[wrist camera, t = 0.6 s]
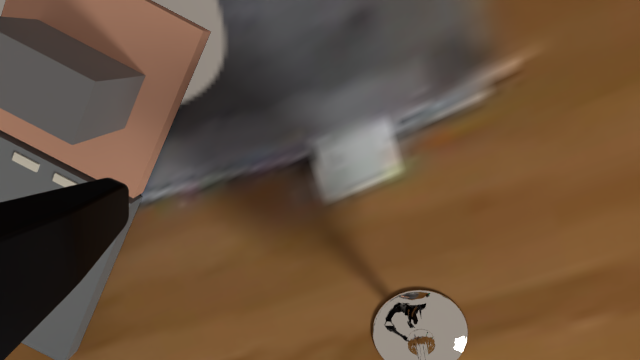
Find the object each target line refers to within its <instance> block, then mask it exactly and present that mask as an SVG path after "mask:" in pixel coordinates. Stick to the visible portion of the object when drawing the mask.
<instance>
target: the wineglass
mask: <svg viewBox="0 0 640 360" xmlns="http://www.w3.org/2000/svg"><path fill="white" fill-rule="evenodd" d="M372 335H373V341H374V344H375V347H376V349H377V351H378V352H379V354H380V355H381V357H382V358H383V359H384V360H458V358H459V357H460V356H461V354H462V353H463V351H464V349H465V347H466V344H467V339H468V326H467V322H466V319H465V316H464V314H463V313H462V311H461V309H460V308H459V307H458V306H457V304H455V303H454V302H453V301H452V300H451V299H449V298H448V297H446V296H444V295H443V294H440V293H437V292H434V291H431V290H421V289H417V290H409V291H405V292H402V293H399V294H397V295H395V296H393V297H392V298H390V299H389V300H387V301H386V302H385V303H384V304H383V305H382V306H381V307H380V309H379V311H378V312H377V314H376V316H375V319H374V322H373V328H372Z"/></svg>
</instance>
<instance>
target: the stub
mask: <svg viewBox="0 0 640 360" xmlns="http://www.w3.org/2000/svg"><path fill="white" fill-rule="evenodd" d="M210 33H211V32H210V31H209V30H207V29H205V28H203V27H201V26H199V25H197V24H195V23H193V22H192V21H190V20H188V19H186V18H184V17H182V16H180V15H178V14H176V13H174V12H172V11H171V10H168V9H167V8H165V7H163V6H161V5H159V4H157V3H155V2H153V1H151V0H6V2H5V5H4V8H3V11H2V15H1V16H0V130H1V131H3V132H5V133H7V134H9V135H11V136H13V137H15V138H17V139H19V140H21V141H23V142H25V143H27V144H29V145H30V146H32V147H34V148H36V149H38V150H40V151H42V152H44V153H46V154H48V155H50V156H52V157H54V158H56V159H58V160H60V161H62V162H64V163H65V164H67V165H69V166H71V167H73V168H75V169H77V170H79V171H81V172H83V173H85V174H87V175H89V176H91V177H93V178H95V179H97V180H98V179H102V178H113V179H115V180H117V181H119V182H122V183H124V184H125V185H127V187H128V189H129V196H130V197H132V198H135V197H136V196H138V195H139V194H141V193H143V191H144V189H145V186H146V184H147V182H148V179H149V177H150V175H151V172H152V170H153V168H154V165H155V163H156V160H157V158H158V156H159V153H160V151H161V149H162V146H163V144H164V142H165V139H166V137H167V134H168V132H169V130H170V127H171V125H172V123H173V120H174V118H175V116H176V113H177V111H178V108H179V106H180V104H181V101H182V99H183V97H184V94H185V92H186V90H187V87H188V85H189V82H190V80H191V78H192V75H193V73H194V70H195V68H196V66H197V64H198V61H199V59H200V56H201V54H202V52H203V49H204V47H205V44H206V42H207V40H208V37H209V35H210Z"/></svg>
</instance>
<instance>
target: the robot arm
mask: <svg viewBox="0 0 640 360" xmlns="http://www.w3.org/2000/svg"><path fill="white" fill-rule="evenodd" d="M128 218H129V189H128V187H127V185H125V184H124V183H122V182H119V181H117V180H115V179H113V178H102V179H98V180H93V181H89V182H85V183H81V184H76V185H72V186H68V187H64V188H59V189H55V190H51V191H46V192H42V193H38V194H34V195H29V196H25V197H21V198H17V199H12V200H8V201H4V202H0V360H4V359H5V358H6V357H7V356H8V355H9V354H10V353H11V352H12V351H13V350H14V349H15V348H16V347H17V346H18V345H19V344H20V343H21V342H22V341H23V340H24V339H25V338H26V337H27V336H28V335H29V334H30V333H31V332H32V331H33V330H34V329H35V328H36V327H37V326H38V325H39V324H40V323H41V322H42V321H43V320H44V319H45V318H46V317H47V316H48V315H49V314H50V313H51V312H52V311H53V310H54V309H55V308H56V307H57V306H58V305H59V304H60V303H61V302H62V301H63V300H64V299H65V298H66V297H67V296H68V295H69V294H70V293H71V291H72V290H73V289H74V288H75V287H76V286H77V285H78V284H79V283H80V282H81V281H82V279H83V278H84V277H85V276H86V275H87V273H88V272H89V271H90V270H91V269H92V267H93V266H94V265H95V264H96V262H97V261H98V260H99V259H100V257H101V256H102V255H103V254H104V252H105V251H106V250H107V249H108V247H109V246H110V245H111V244H112V242H113V241H114V240H115V239H116V237H117V236H118V235H119V234H120V232H121V231H122V230H123V229H124V227H125V226H126V224H127V222H128Z"/></svg>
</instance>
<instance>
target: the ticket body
mask: <svg viewBox="0 0 640 360" xmlns="http://www.w3.org/2000/svg"><path fill="white" fill-rule="evenodd" d="M93 180H97V179H95V178H93V177H91V176H89V175H87V174H85V173H83V172H81V171H79V170H77V169H75V168H73V167H71V166H69V165H67V164H65V163H64V162H62V161H60V160H58V159H56V158H54V157H52V156H50V155H48V154H46V153H44V152H42V151H40V150H38V149H36V148H34V147H32V146H30V145H29V144H27V143H25V142H23V141H21V140H19V139H17V138H15V137H13V136H11V135H9V134H7V133H5V132H3V131H1V130H0V202H4V201H8V200H12V199H17V198H21V197H25V196H29V195H34V194H38V193H42V192H46V191H51V190H55V189H59V188H64V187H68V186H72V185H76V184H81V183H85V182H89V181H93ZM141 199H142V196H140V195H138V196H136V197H135V198H132V197H130V196H129V218H128V222H127V224H126V226H125V227H124V229H123V230H122V231H121V232H120V234H119V235H118V236H117V237H116V239H115V240H114V241H113V242H112V244H111V245H110V246H109V247H108V249H107V250H106V251H105V252H104V254H103V255H102V256H101V257H100V259H99V260H98V261H97V262H96V264H95V265H94V266H93V267H92V269H91V270H90V271H89V272H88V273H87V275H86V276H85V277H84V278H83V279H82V281H81V282H80V283H79V284H78V285H77V286H76V287H75V288H74V289H73V290H72V291H71V293H70V294H69V295H68V296H67V297H66V298H65V299H64V300H63V301H62V302H61V303H60V304H59V305H58V306H57V307H56V308H55V309H54V310H53V311H52V312H51V313H50V314H49V315H48V316H47V317H46V318H45V319H44V320H43V321H42V322H41V323H40V324H39V325H38V326H37V327H36V328H35V329H34V330H33V331H32V332H31V333H30V334H29V335H28V336H27V337H26V338H25V339H24V340H23V341H22V342H21V343H23V344H25V345H27V346H29V347H31V348H33V349H35V350H37V351H39V352H41V353H43V354H45V355H47V356H49V357H51V358H53V359H55V360H68V359H69V358H70V357H71V356H72V355H73V354H74V353H75V352H76V351H77V350H78V348H79V345H80V343H81V341H82V338H83V336H84V334H85V331H86V329H87V326H88V324H89V322H90V319H91V317H92V315H93V312H94V310H95V308H96V305H97V303H98V301H99V298H100V296H101V293H102V291H103V289H104V286H105V284H106V282H107V279H108V277H109V275H110V272H111V270H112V268H113V265H114V263H115V260H116V258H117V256H118V253H119V251H120V249H121V246H122V244H123V242H124V239H125V237H126V234H127V232H128V230H129V227H130V225H131V223H132V220H133V218H134V216H135V213H136V211H137V209H138V206H139V204H140V201H141Z"/></svg>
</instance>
